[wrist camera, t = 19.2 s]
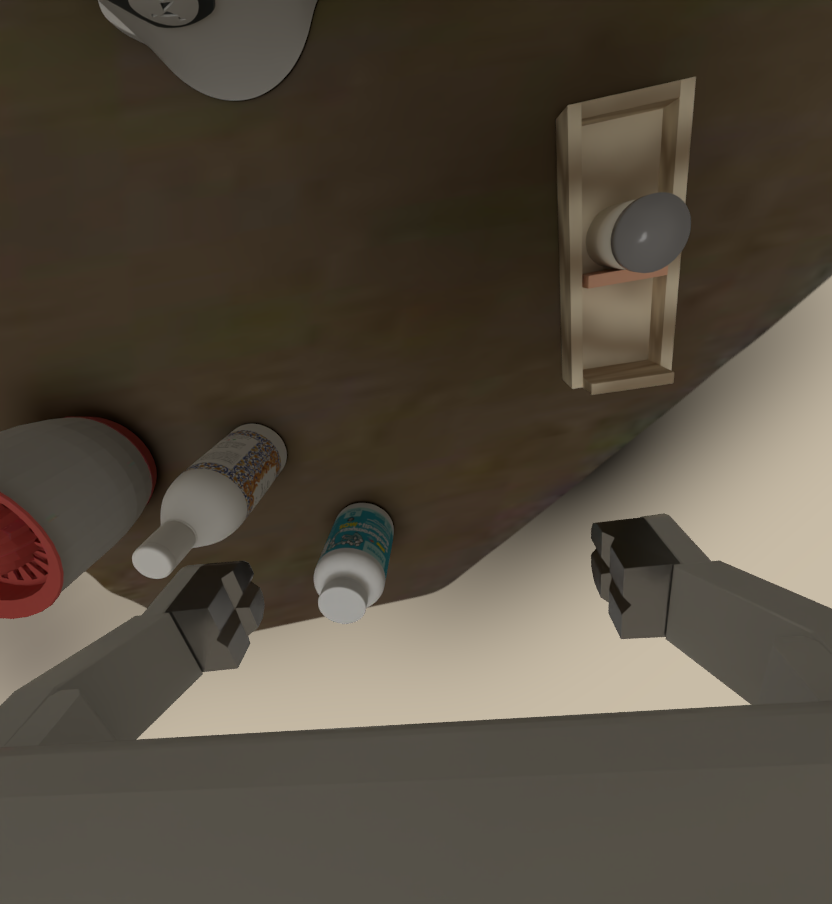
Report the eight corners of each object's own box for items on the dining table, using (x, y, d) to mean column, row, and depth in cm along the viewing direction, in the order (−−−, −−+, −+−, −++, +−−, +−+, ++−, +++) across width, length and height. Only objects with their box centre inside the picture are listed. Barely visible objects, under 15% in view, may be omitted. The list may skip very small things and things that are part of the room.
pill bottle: (402, 511, 51) (391, 591, 39) (383, 556, 54) (368, 643, 42) (344, 491, 50) (314, 566, 38) (328, 538, 53) (296, 621, 41)
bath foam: (277, 484, 50) (187, 612, 32) (222, 461, 49) (96, 579, 31) (296, 438, 47) (208, 548, 29) (238, 411, 46) (110, 509, 28)
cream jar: (582, 211, 36) (614, 203, 29) (646, 194, 35) (692, 183, 29) (586, 275, 38) (616, 280, 32) (646, 260, 37) (689, 263, 31)
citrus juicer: (73, 358, 45) (-176, 425, 27) (201, 470, 50) (66, 591, 32) (6, 441, 49) (-244, 546, 31) (129, 535, 55) (-24, 673, 36)
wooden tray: (555, 119, 34) (577, 93, 29) (671, 94, 33) (717, 61, 28) (562, 379, 43) (580, 396, 38) (653, 365, 42) (685, 381, 37)
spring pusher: (577, 274, 38) (588, 276, 35) (651, 261, 37) (668, 262, 34) (577, 286, 38) (588, 288, 35) (650, 273, 37) (667, 274, 35)
